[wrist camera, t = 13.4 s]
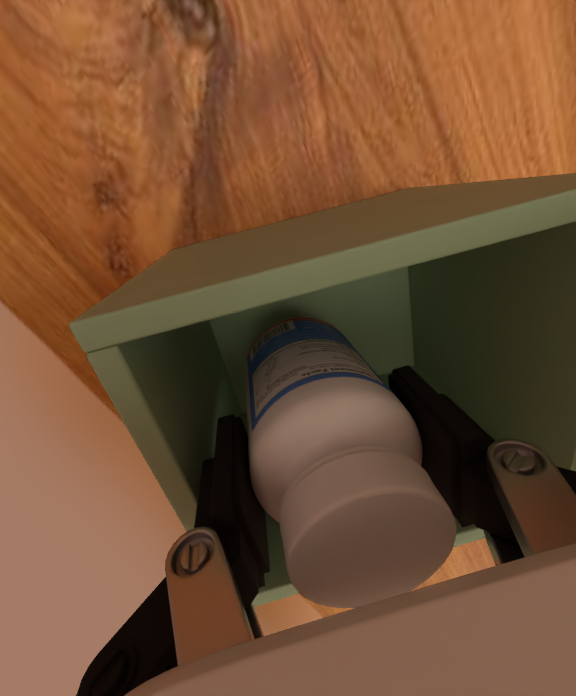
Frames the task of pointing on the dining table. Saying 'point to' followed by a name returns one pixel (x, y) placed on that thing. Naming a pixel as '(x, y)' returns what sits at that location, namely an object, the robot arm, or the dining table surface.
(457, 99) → the dining table surface
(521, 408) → the box
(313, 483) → the pill bottle
